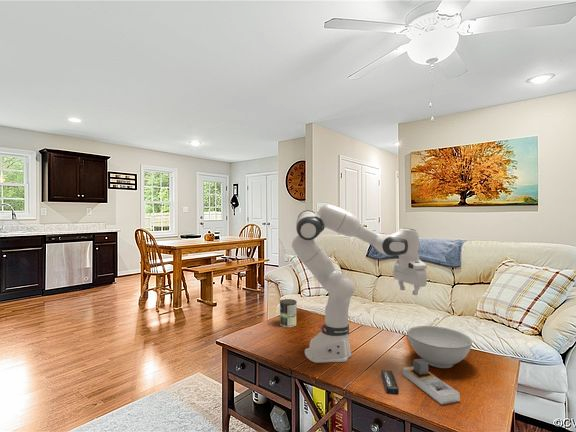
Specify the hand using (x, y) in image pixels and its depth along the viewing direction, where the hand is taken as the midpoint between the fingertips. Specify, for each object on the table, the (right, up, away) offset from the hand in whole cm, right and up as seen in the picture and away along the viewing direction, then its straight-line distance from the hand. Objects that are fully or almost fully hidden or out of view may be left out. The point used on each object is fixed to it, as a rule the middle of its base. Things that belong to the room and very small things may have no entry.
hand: (408, 292), depth 152 cm
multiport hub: (-16, -32, -22) cm, 42 cm away
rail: (-1, -31, -25) cm, 40 cm away
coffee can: (-56, -31, +47) cm, 79 cm away
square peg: (-2, -31, -20) cm, 37 cm away
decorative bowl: (+12, -31, -3) cm, 34 cm away
